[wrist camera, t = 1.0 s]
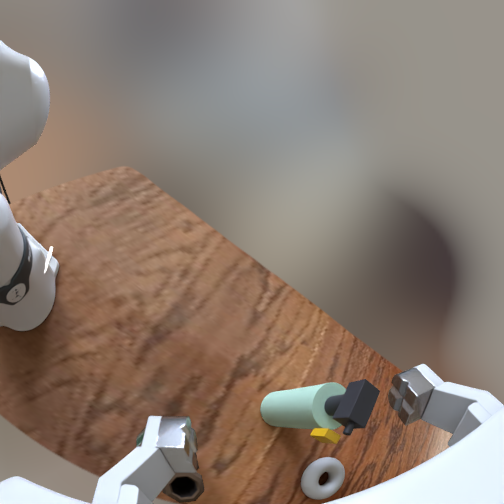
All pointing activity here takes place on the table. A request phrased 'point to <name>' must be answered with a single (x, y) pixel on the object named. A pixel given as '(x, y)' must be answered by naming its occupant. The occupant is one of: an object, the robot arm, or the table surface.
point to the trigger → (325, 435)
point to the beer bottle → (181, 482)
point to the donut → (316, 470)
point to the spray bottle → (321, 406)
